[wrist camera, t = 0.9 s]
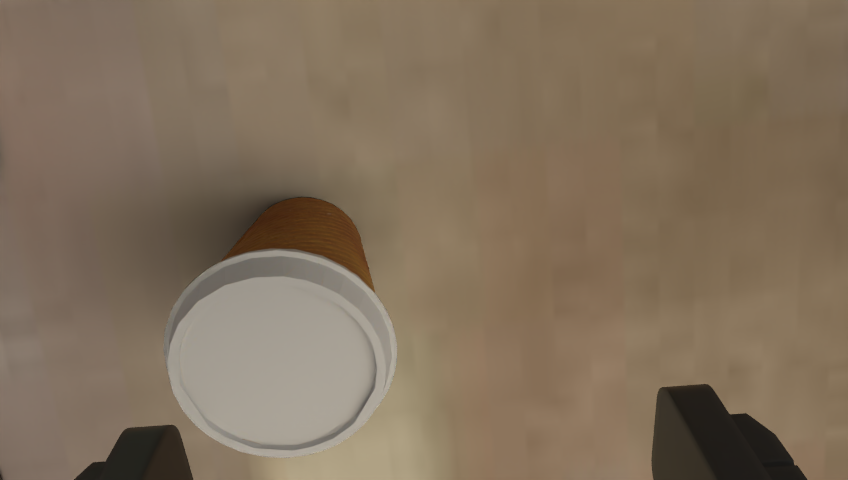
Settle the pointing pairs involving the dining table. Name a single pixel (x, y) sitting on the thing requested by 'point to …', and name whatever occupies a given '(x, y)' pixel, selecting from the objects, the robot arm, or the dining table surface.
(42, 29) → the dining table surface
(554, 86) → the dining table surface
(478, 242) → the dining table surface
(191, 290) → the disposable coffee cup
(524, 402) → the dining table surface
